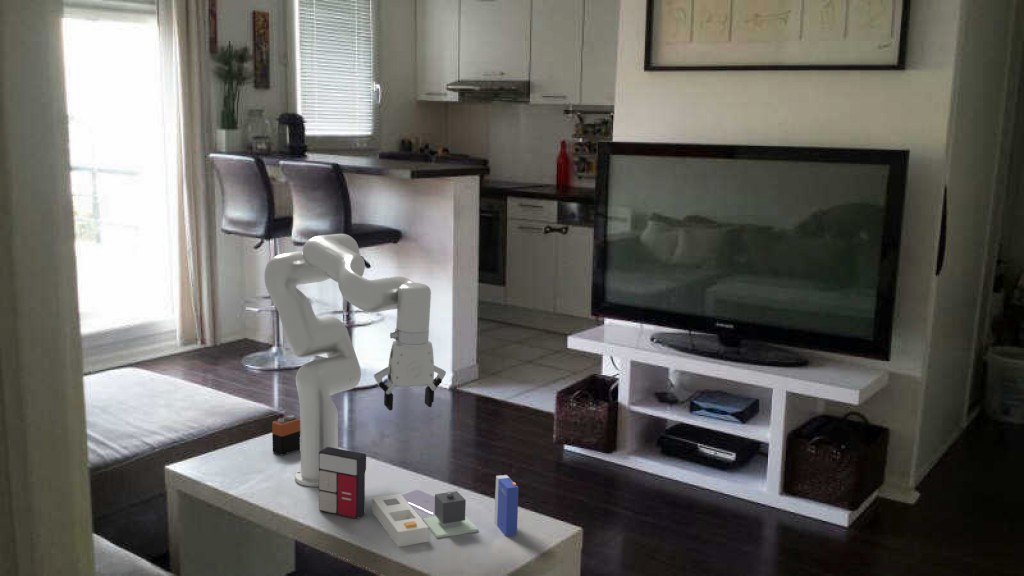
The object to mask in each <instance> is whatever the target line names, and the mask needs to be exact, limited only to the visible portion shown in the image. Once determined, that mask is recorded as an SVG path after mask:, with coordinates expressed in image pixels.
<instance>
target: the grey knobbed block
mask: <svg viewBox="0 0 1024 576" xmlns="http://www.w3.org/2000/svg"><path fill="white" fill-rule="evenodd" d="M434 497H435V516H436V517H437V518H438V519H439V522H440V524H441V525H442V526H443V527H444V528H449V527H455V526H461V521H464V520H465V516H466V499H465V498H464V497H463V495H461V493H460V492H459V491H457V490H454V491H447V492H442V493H441V492H440V493H436V494H434Z"/></svg>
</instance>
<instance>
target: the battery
mask: <svg viewBox="0 0 1024 576" xmlns="http://www.w3.org/2000/svg"><path fill="white" fill-rule="evenodd" d="M271 426H272V427H271V429H272V431H271V432H272V435H271V436H272V453H274V454H277V455H280V456H285V454H286V455H288V454H291V453H293V452H294V453H295V452H296V451H299V450H301V446H300V418H296V417H295V415H294V414H288V415H286V417H281V418H278V419H277V420H274V421H272V425H271Z"/></svg>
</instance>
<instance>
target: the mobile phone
mask: <svg viewBox="0 0 1024 576" xmlns="http://www.w3.org/2000/svg"><path fill="white" fill-rule="evenodd" d="M401 495H402V496H403V497H404V499H405V500H406V501H407V502H408V503H409V505H410V506H411V507H412V508H414V507H415V509H416V510H418V511H421V512H423V513H425V514H428V515H430V516H432V515H433V516H435V495H432V494H430V493H427V492H425V491H422V490H420V489H414V490H412V491H409V492H406V493H403V494H401ZM433 516H432V517H433Z"/></svg>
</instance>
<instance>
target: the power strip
mask: <svg viewBox="0 0 1024 576" xmlns="http://www.w3.org/2000/svg"><path fill="white" fill-rule="evenodd" d="M402 495H403V494H401V493H397V494H390V495H389V494H388V495H384V496H383V495H382V496H377V497H372V501H371V502H372V505H371V506H372V508H371V509H372V511H371V513H373V515H374V516H375V517H376V519H377V520H378V521H379V523H380V524H381V525H382V527H383V528H384V530H385V532H386V533H387V534H388V535H389V537H390V538H391V539H392V541H393V542H394V543H395V545H396V546H397V547H398V548H400V547H405V546H411V545H418V544H423V543H428V542H429V528H428V526H427V525H426V524H425V523H424V521H423V520H422V518H421V516H420V515H419V514H418V512H416V511H415V509H414V507H412V506H410V505H409V503H408V502H407V501H406V500H405V499H404V497H403V496H402Z"/></svg>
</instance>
